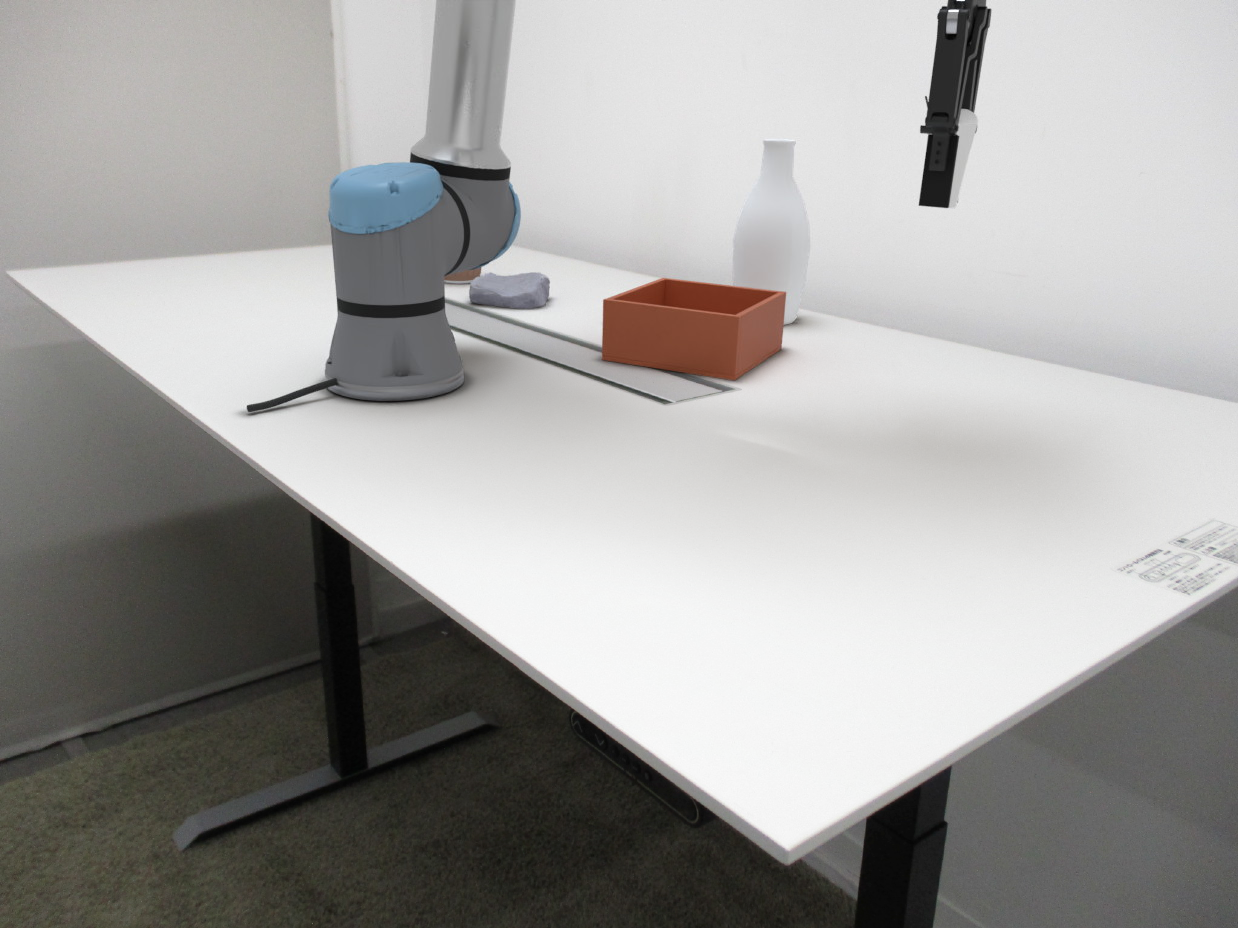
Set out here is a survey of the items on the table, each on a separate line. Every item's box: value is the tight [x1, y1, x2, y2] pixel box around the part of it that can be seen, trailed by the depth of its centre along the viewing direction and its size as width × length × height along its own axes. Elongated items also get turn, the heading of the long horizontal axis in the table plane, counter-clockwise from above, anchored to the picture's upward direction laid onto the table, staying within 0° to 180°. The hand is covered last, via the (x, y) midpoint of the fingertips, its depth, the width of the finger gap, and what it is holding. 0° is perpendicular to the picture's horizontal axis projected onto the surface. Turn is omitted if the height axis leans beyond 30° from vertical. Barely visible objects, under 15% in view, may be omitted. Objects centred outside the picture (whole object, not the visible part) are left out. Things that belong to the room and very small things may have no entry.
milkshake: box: [924, 95, 979, 209], centre depth 97 cm, size 5×5×10 cm
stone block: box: [468, 271, 551, 310], centre depth 156 cm, size 12×5×10 cm
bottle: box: [731, 138, 811, 326], centre depth 145 cm, size 11×11×25 cm
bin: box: [601, 277, 786, 381], centre depth 128 cm, size 18×18×8 cm
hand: (938, 203), depth 98 cm, fingers closed on milkshake, 4 cm apart
